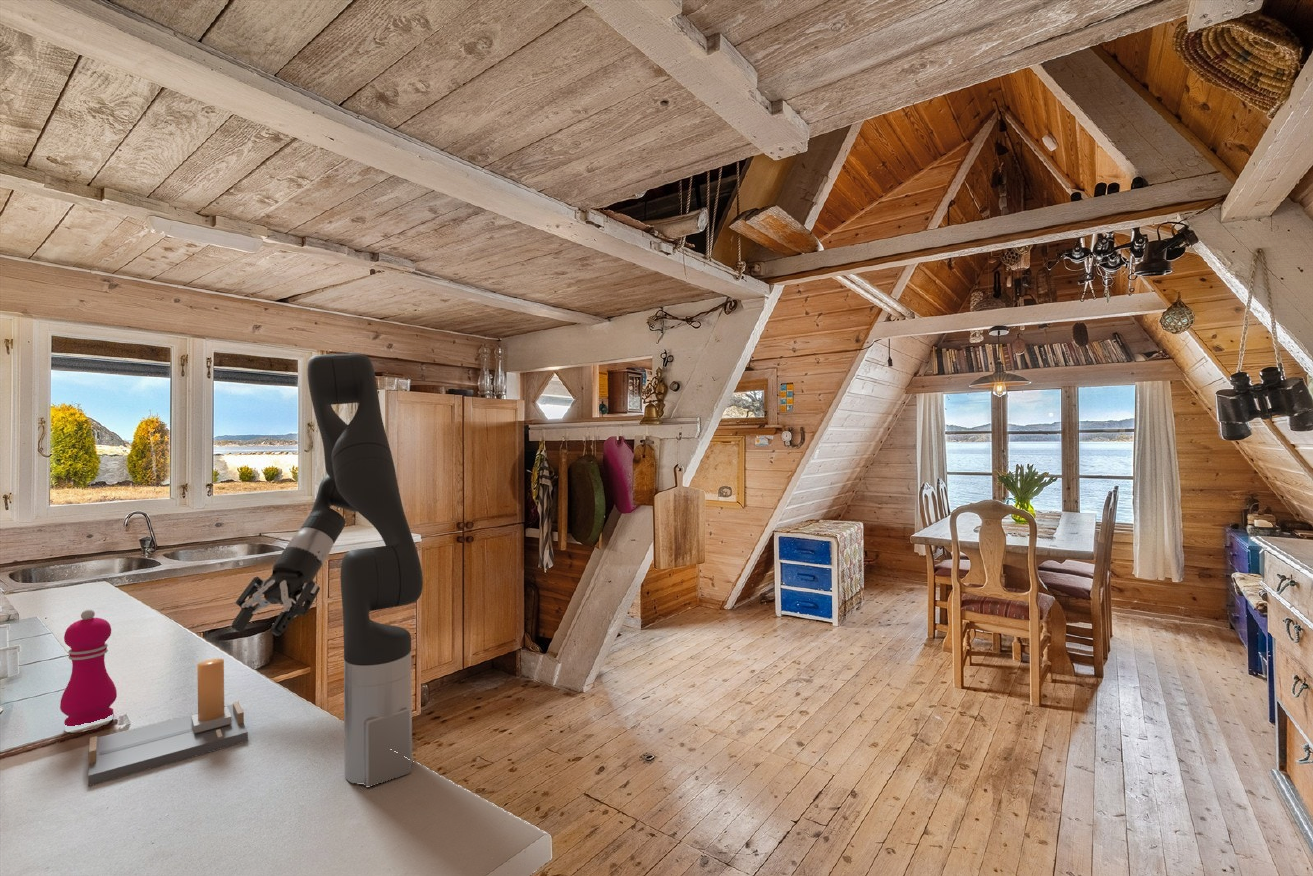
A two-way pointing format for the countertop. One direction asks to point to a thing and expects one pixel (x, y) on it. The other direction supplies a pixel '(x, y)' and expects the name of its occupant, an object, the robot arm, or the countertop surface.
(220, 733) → the fader track
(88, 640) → the pepper mill
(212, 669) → the fader
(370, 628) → the robot arm
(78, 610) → the countertop surface
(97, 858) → the countertop surface
